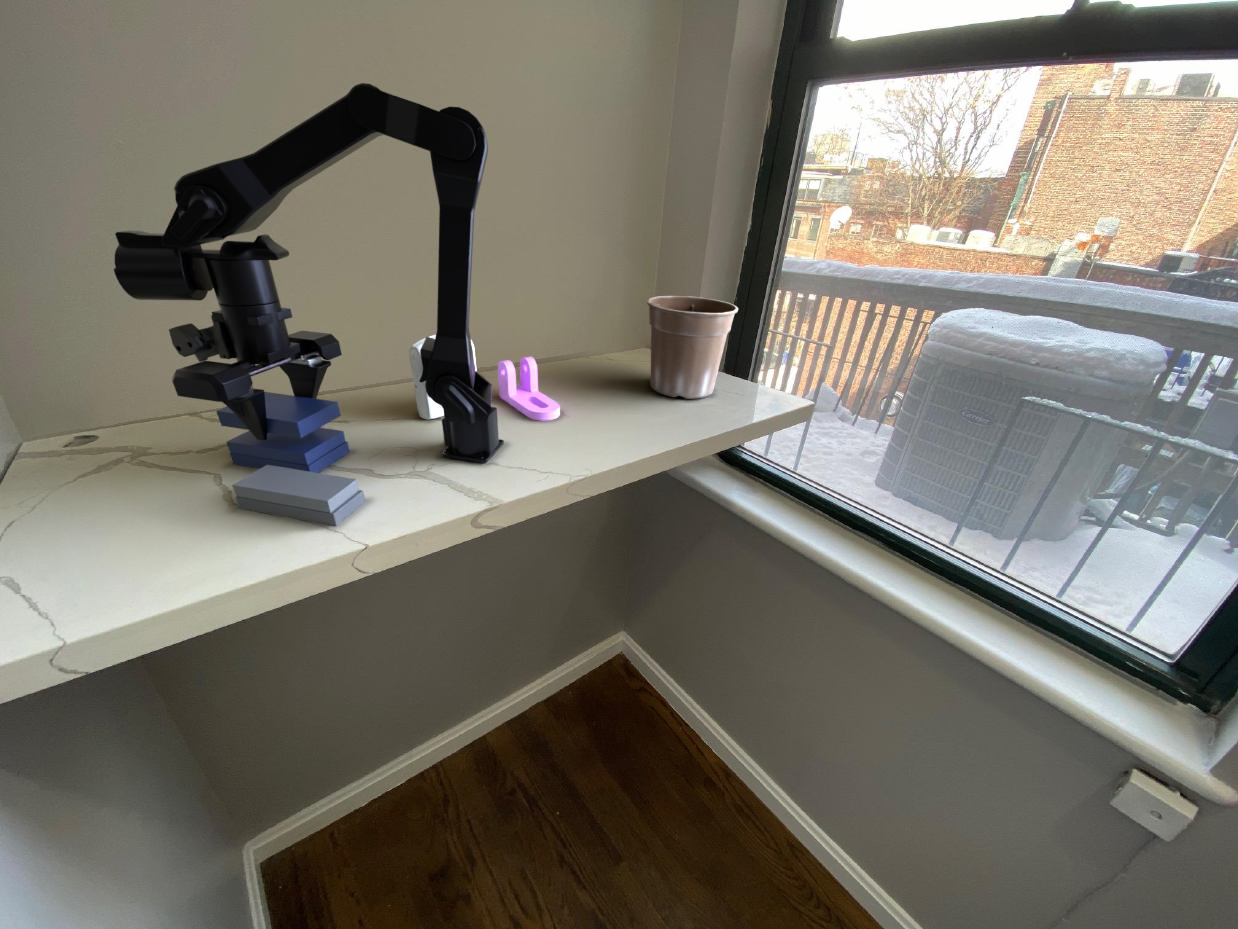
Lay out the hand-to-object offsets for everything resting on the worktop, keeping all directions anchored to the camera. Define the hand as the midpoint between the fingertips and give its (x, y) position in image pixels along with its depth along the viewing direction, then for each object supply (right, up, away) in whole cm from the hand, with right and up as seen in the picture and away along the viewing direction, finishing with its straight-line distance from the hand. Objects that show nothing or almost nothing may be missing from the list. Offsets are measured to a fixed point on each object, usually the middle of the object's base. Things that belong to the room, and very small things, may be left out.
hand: (285, 427), depth 64 cm
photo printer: (+15, +4, +19) cm, 24 cm away
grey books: (+7, -9, -7) cm, 13 cm away
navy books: (0, -4, +2) cm, 4 cm away
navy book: (0, +1, 0) cm, 1 cm away
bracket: (+28, +5, +22) cm, 36 cm away
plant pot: (+55, +10, +34) cm, 65 cm away
